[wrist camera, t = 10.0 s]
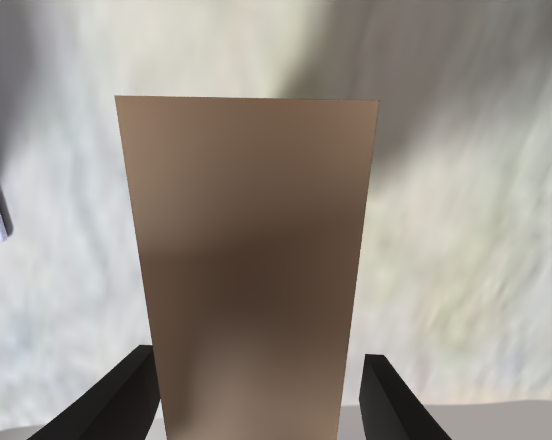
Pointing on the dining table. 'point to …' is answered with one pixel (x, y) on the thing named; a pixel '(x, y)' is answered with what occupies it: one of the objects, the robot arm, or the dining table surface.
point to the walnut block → (248, 256)
